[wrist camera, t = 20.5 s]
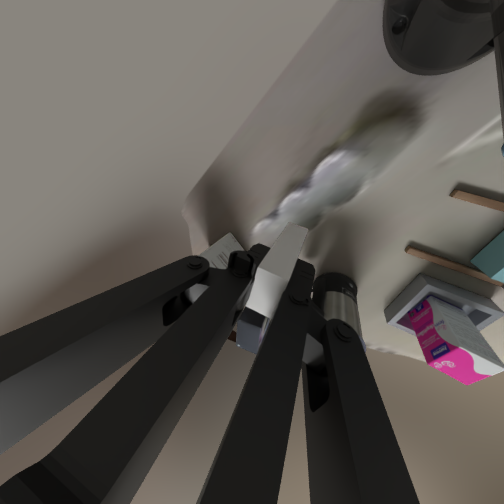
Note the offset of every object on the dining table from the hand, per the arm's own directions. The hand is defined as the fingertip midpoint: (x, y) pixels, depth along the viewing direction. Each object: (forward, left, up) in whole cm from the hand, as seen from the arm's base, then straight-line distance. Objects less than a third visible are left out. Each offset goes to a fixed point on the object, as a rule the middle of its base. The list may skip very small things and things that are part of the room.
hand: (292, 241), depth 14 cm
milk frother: (+22, +9, -25) cm, 35 cm away
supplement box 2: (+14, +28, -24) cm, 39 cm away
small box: (+36, -2, -25) cm, 44 cm away
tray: (+14, +28, -24) cm, 40 cm away
